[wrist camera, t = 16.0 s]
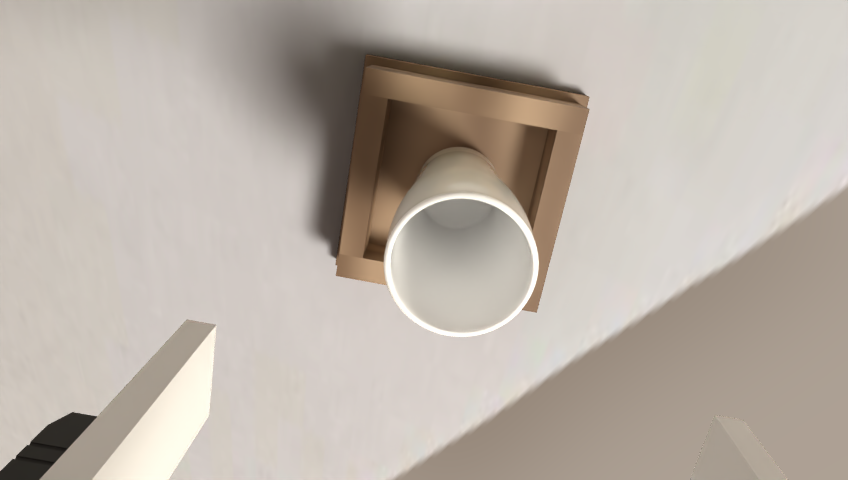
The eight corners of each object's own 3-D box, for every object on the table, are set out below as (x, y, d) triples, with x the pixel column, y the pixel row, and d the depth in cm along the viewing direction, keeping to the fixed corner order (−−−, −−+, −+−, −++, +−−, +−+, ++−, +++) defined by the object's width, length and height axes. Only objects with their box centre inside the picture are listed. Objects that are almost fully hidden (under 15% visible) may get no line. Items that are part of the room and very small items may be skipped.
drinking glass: (384, 190, 41) (349, 275, 27) (452, 111, 39) (453, 156, 25) (462, 255, 42) (467, 368, 28) (532, 180, 41) (575, 261, 26)
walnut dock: (338, 259, 44) (327, 281, 40) (367, 54, 40) (358, 56, 36) (534, 296, 44) (542, 320, 40) (586, 95, 40) (600, 102, 36)
